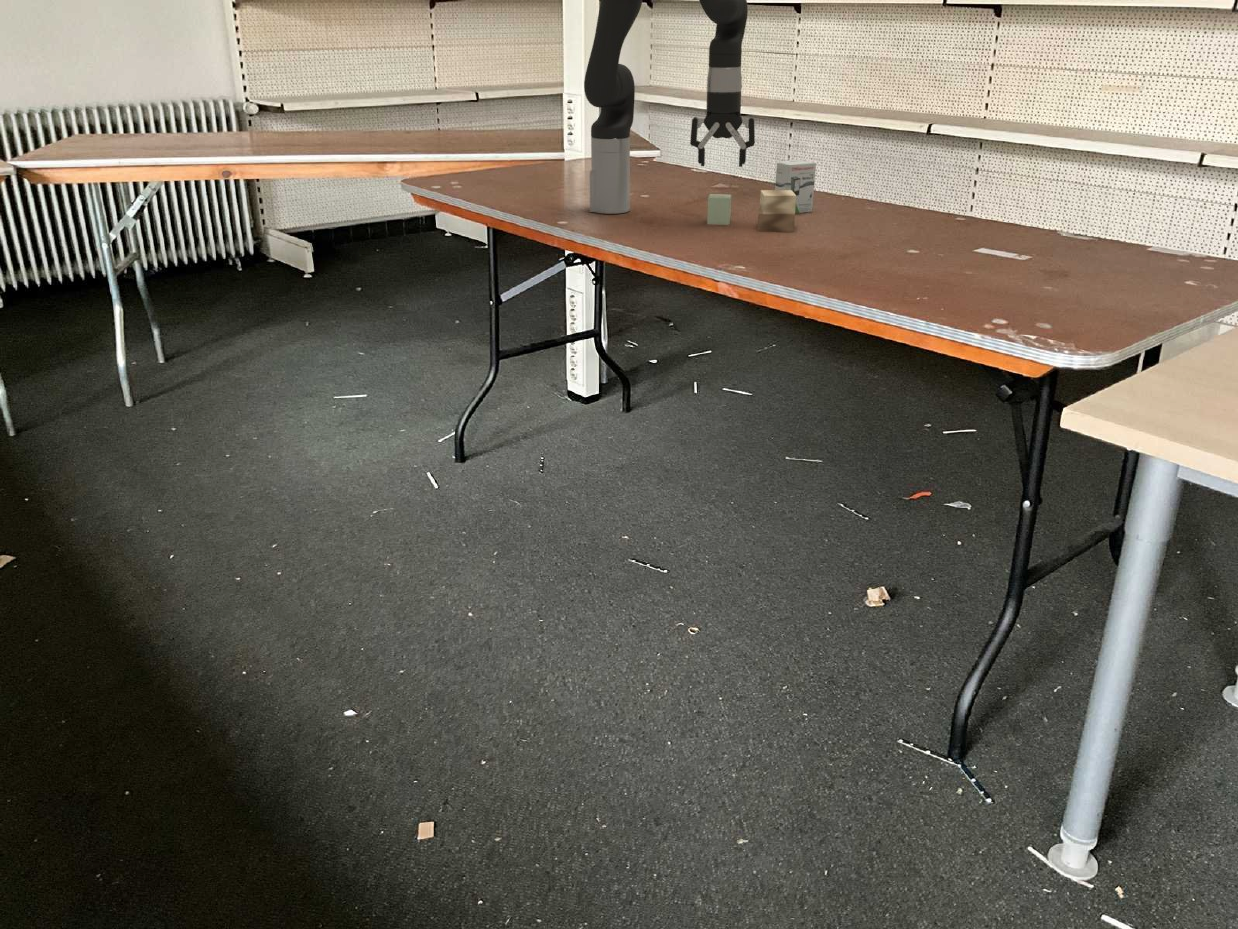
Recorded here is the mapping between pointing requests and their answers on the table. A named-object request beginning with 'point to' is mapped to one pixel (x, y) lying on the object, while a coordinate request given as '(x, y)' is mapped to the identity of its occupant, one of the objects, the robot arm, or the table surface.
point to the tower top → (777, 202)
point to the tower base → (776, 222)
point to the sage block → (719, 209)
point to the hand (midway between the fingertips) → (721, 166)
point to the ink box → (797, 181)
